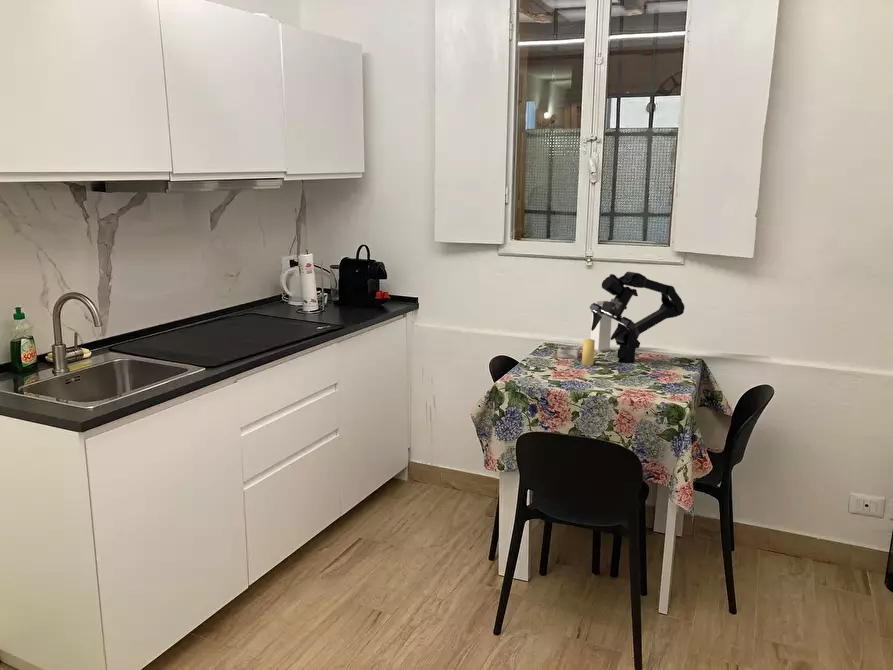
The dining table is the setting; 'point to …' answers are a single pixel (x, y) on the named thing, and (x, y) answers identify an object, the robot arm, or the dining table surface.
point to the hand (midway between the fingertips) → (601, 335)
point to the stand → (568, 353)
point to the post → (588, 352)
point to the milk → (602, 332)
